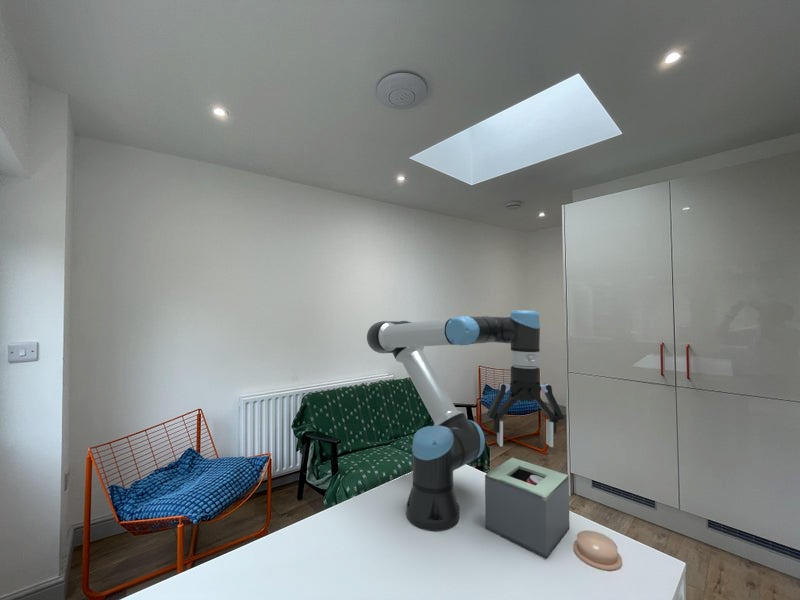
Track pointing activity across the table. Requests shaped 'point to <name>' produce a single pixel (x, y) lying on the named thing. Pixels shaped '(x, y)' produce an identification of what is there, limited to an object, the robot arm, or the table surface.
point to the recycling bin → (527, 506)
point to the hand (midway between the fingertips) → (524, 444)
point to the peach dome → (597, 551)
